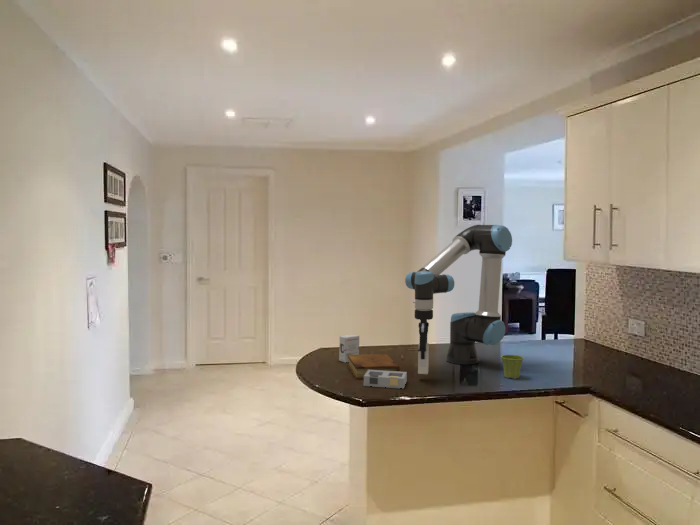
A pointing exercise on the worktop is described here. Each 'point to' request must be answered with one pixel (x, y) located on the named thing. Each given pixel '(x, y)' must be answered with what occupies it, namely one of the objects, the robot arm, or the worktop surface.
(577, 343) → the worktop surface
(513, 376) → the plant pot
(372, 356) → the diary
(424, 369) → the plug
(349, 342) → the ink box
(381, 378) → the socket block
